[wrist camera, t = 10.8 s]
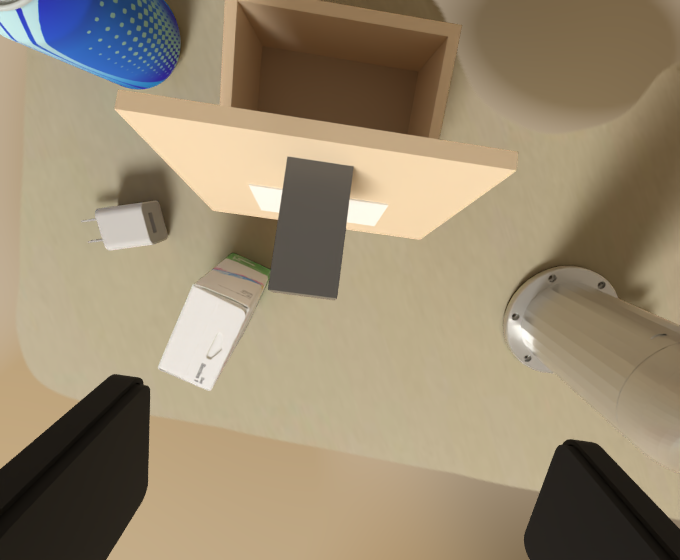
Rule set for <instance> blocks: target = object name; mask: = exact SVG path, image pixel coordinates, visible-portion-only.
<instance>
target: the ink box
mask: <svg viewBox="0 0 680 560" xmlns="http://www.w3.org/2000/svg"><path fill="white" fill-rule="evenodd" d="M270 272H271V270H270V269H268V268H266V267H264V266H262V265H260V264H257V263H255V262H253V261H251V260H249V259H247V258H244V257H242V256H240V255H237V254H235V253H231V254H230V255H229V256H228V257H227V258H225V259H224V260H223V261H222V262H220V263H219V264H218V265H217V266H216V267H214V268H213V269H212V270H211V271H209V272H208V273H207V274H206V275H204V276H203V277H202V278H201V279H199V280H198V281H197V282H195V283H194V284H193V285H192V288H191V290H190V292H189V294H188V297H187V299H186V301H185V304H184V306H183V308H182V311H181V313H180V315H179V318H178V320H177V323H176V325H175V327H174V330H173V332H172V334H171V337H170V339H169V341H168V344H167V346H166V348H165V351H164V353H163V356H162V358H161V360H160V363H159V366H158V369H159V370H161V371H164V372H166V373H168V374H170V375H173V376H175V377H177V378H180V379H182V380H184V381H187V382H189V383H191V384H194V385H196V386H198V387H201V388H203V389H205V390H208V391H210V390H211V389H212V388H213V386H214V384H215V383H216V381H217V379H218V377H219V376H220V374H221V372H222V370H223V369H224V367H225V365H226V363H227V362H228V360H229V358H230V356H231V355H232V353H233V351H234V349H235V348H236V346H237V344H238V342H239V341H240V339H241V337H242V335H243V334H244V331H245V329H246V327H247V325H248V323H249V321H250V319H251V317H252V315H253V313H254V310H255V308H256V306H257V304H258V302H259V300H260V298H261V295H262V293H263V291H264V289H265V287H266V285H267V283H268V280H269V278H270Z"/></svg>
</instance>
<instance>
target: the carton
mask: <svg viewBox="0 0 680 560" xmlns="http://www.w3.org/2000/svg"><path fill="white" fill-rule="evenodd" d="M461 28H462V25H458V24H453V23H447V22H441V21H435V20H430V19H424V18H418V17H412V16H407V15H401V14H395V13H389V12H384V11H378V10H372V9H366V8H361V7H355V6H349V5H344V4H338V3H332V2H326V1H321V0H225V10H224V30H223V50H222V70H221V89H220V105H222V106H228V107H234V108H241V109H247V110H254V111H260V112H266V113H273V114H279V115H286V116H292V117H299V118H305V119H311V120H318V121H324V122H331V123H337V124H343V125H350V126H356V127H363V128H369V129H375V130H382V131H388V132H395V133H401V134H407V135H414V136H420V137H427V138H433V139H439V137H440V132H441V127H442V122H443V117H444V113H445V108H446V103H447V98H448V93H449V88H450V83H451V78H452V73H453V68H454V63H455V58H456V53H457V48H458V43H459V38H460V33H461Z"/></svg>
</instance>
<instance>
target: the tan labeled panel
mask: <svg viewBox="0 0 680 560" xmlns="http://www.w3.org/2000/svg"><path fill="white" fill-rule="evenodd" d="M114 109H115V110H116V111H117V112H118V113H119V114H120V115H121V116H122V117H123V118H124V119H125V120H126V121H127V123H128V124H129V125H130V126H131V127H132V128H133V129H134V130H135V131H136V132H137V133H138V134H139V135H140V136H141V137H142V138H143V139H144V140H145V141H146V142H147V143H148V144H149V145H150V146H151V147H152V148H153V149H154V150H155V151H156V152H157V153H158V154H159V155H160V157H161V158H162V159H163V160H164V161H165V162H166V163H167V164H168V165H169V166H170V167H171V168H172V169H173V170H174V171H175V172H176V173H177V174H178V175H179V176H180V177H181V178H182V179H183V180H184V181H185V182H186V183H187V184H188V185H189V186H190V187H191V188H192V189H193V191H194V192H195V193H196V194H197V195H198V196H199V197H200V198H201V199H202V200H203V201H204V202H205V203H206V204H207V205H208V206H209V207H210V208H211V209H212V210H213V211H219V212H226V213H233V214H240V215H247V216H255V217H262V218H269V219H276V220H278V224H277V231H276V237H275V244H274V251H273V258H272V265H271V272H270V278H269V285H268V290H270V291H272V292H275V293H282V294H290V295H298V296H305V297H313V298H321V299H329V300H336V299H337V295H338V287H339V279H340V271H341V263H342V255H343V247H344V239H345V232H346V229H347V230H354V231H361V232H369V233H376V234H383V235H390V236H397V237H404V238H411V239H419V240H420V239H422V238H423V237H424V236H426V235H427V234H429V233H430V232H431V231H433V230H434V229H436V228H437V227H438V226H440V225H441V224H443V223H444V222H445V221H447V220H448V219H450V218H451V217H452V216H454V215H455V214H457V213H458V212H459V211H461V210H462V209H464V208H465V207H466V206H468V205H469V204H471V203H472V202H473V201H475V200H476V199H478V198H479V197H480V196H482V195H483V194H485V193H486V192H487V191H489V190H490V189H492V188H493V187H494V186H496V185H497V184H499V183H500V182H501V181H503V180H504V179H506V178H507V177H508V176H510V175H511V174H513V173H514V172H515V171H517V161H518V152H516V151H510V150H503V149H497V148H491V147H484V146H478V145H471V144H465V143H459V142H452V141H446V140H439V139H433V138H427V137H420V136H414V135H407V134H401V133H395V132H388V131H382V130H375V129H369V128H363V127H356V126H350V125H343V124H337V123H331V122H324V121H318V120H311V119H305V118H299V117H292V116H286V115H279V114H273V113H266V112H260V111H254V110H247V109H241V108H234V107H228V106H222V105H215V104H209V103H202V102H196V101H190V100H183V99H177V98H170V97H164V96H158V95H151V94H145V93H138V92H132V91H126V90H119V89H118V93H117V98H116V103H115V108H114Z"/></svg>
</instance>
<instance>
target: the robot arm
mask: <svg viewBox="0 0 680 560" xmlns="http://www.w3.org/2000/svg"><path fill="white" fill-rule="evenodd" d="M549 276H550V277H549ZM503 330H504V337H505V340H506V344H507V345H508V347H509V349H510V351H511V352H512V353H513V354H514V356H515V357H516V358H517V359H518V360H519V361H520V362H521V363H523V364H524V365H526V366H528V367H529V368H531V369H533V370H536V371H540V372H544V373H554V374H555V375H557V376H558V377H559V378H560V379H561V380H562V381H563V382H564V383H565V384H567V385H568V386H569V387H570V388H571V389H572V390H573V391H574V392H575V393H576V394H578V395H579V396H580V397H581V398H582V399H583V400H584V401H585V402H586V403H587V404H589V405H590V406H591V407H592V408H593V409H594V410H595V411H596V412H597V413H599V414H600V415H601V416H602V417H603V418H604V419H605V420H606V421H607V422H608V423H610V424H611V425H612V426H613V427H614V428H615V429H616V430H617V431H618V432H619V433H621V434H622V435H623V436H624V437H625V438H627V439H628V440H629V441H630V442H631V443H632V444H633V445H634V446H635V447H636V448H638V449H639V450H640V451H641V452H642V453H643V454H645V455H646V456H647V457H648V458H650V459H651V460H653V461H654V462H656V463H658V464H659V465H661V466H663V467H665V468H667V469H669V470H671V471H673V472H676V473H678V474H680V325H678V324H675V323H673V322H671V321H669V320H666V319H664V318H662V317H659V316H657V315H655V314H653V313H650V312H648V311H646V310H643V309H641V308H639V307H637V306H634V305H632V304H630V303H627V302H625V301H623V300H621V299H619V298H618V296H617V294H616V291H615V289H614V288H613V286H612V285H611V284H610V283H609V281H608V280H606V279H605V278H604V277H603V276H601V275H600V274H598V273H596V272H594V271H591V270H588V269H586V268H583V267H577V266H559V267H555V268H550V269H547V270H545V271H543V272H540V273H538V274H536V275H535V276H533V277H532V278H530V279H529V280H527V281H526V282H525V283H524V284H523V285H522V286H521V287H520V288H519V289H518V290H517V291H516V293H515V294H514V295H513V297H512V298H511V300H510V302H509V304H508V306H507V309H506V312H505V315H504V322H503ZM149 418H150V388H149V387H148V386H145V385H144V384H143V380H142V379H141V378H138V377H131V376H124V375H117V374H114V375H111V376H110V377H108V378H107V379H106V380H105V381H104V382H102V383H101V384H100V385H99V386H98V387H96V388H95V389H94V390H93V391H92V392H91V393H89V394H88V395H87V396H86V397H85V398H84V399H82V400H81V401H80V402H79V403H78V404H77V405H75V406H74V407H73V408H72V409H71V410H69V411H68V412H67V413H66V414H65V415H64V416H62V417H61V418H60V419H59V420H58V421H56V422H55V423H54V424H53V425H52V426H51V427H49V429H47V430H46V431H45V432H44V433H42V434H41V435H40V436H39V437H38V438H36V439H35V440H34V441H33V442H32V443H31V444H30V445H28V446H27V447H26V448H25V449H23V450H22V451H21V452H20V453H19V454H18V455H16V457H14V458H13V459H12V460H11V461H9V462H8V463H7V464H6V465H5V466H3V467H2V468H1V469H0V560H106V559H107V557H108V556H109V554H110V552H111V551H112V549H113V548H114V546H115V544H116V543H117V541H118V540H119V538H120V536H121V535H122V533H123V532H124V530H125V528H126V527H127V525H128V523H129V522H130V520H131V519H132V517H133V515H134V514H135V512H136V511H137V509H138V507H139V506H140V504H141V502H142V501H143V498H144V496H145V493H146V490H147V486H148V458H149ZM524 544H525V549H526V552H527V555H528V557H529V559H530V560H680V529H679V528H678V527H677V526H676V525H675V524H674V523H673V522H672V521H671V520H670V519H669V517H668V516H667V515H666V514H665V513H664V512H663V511H662V510H661V509H660V508H659V507H658V506H657V505H656V504H655V503H654V502H653V501H652V500H651V499H650V498H649V497H648V496H647V495H646V493H645V492H644V491H643V490H642V489H641V488H640V487H639V486H638V485H637V484H636V483H635V482H634V481H633V480H632V479H631V478H630V477H629V476H628V475H627V474H626V473H625V472H624V470H623V469H622V468H621V467H620V466H619V465H618V464H617V463H616V462H615V461H614V460H613V459H612V458H611V457H610V456H609V455H608V454H607V453H606V452H605V451H604V450H603V449H602V448H601V447H600V446H599V445H598V444H596V443H593V442H586V441H579V440H572V439H569V440H566V441H565V442H564V443H563V445H559V446H558V447H557V448H556V450H555V453H554V456H553V458H552V461H551V464H550V466H549V469H548V472H547V475H546V477H545V480H544V483H543V485H542V488H541V491H540V494H539V497H538V499H537V502H536V504H535V507H534V510H533V512H532V515H531V518H530V521H529V523H528V526H527V529H526V532H525V535H524Z"/></svg>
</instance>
